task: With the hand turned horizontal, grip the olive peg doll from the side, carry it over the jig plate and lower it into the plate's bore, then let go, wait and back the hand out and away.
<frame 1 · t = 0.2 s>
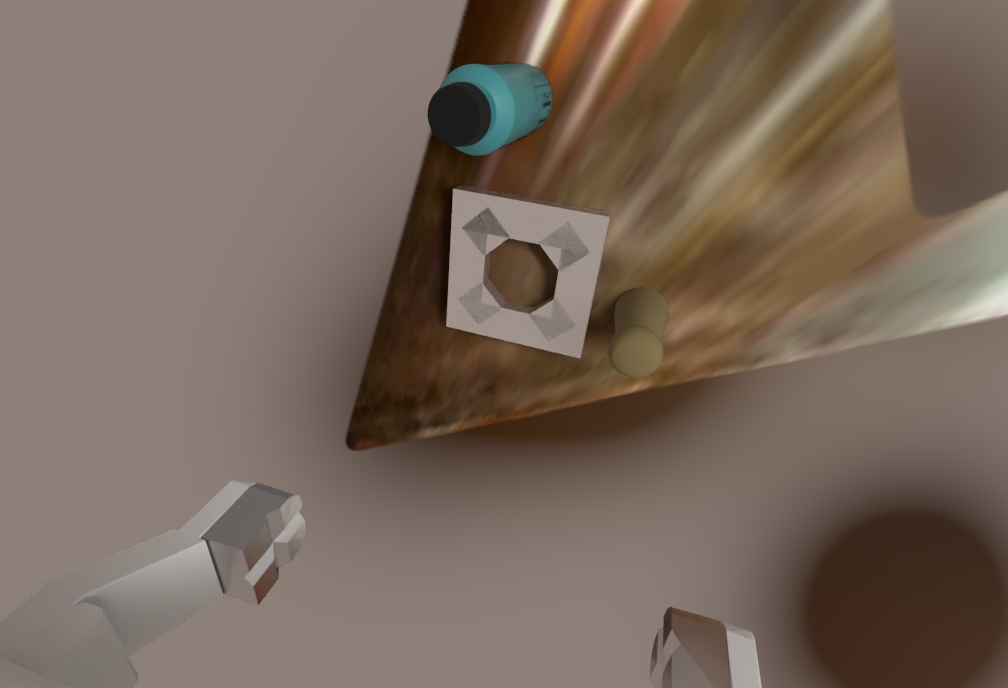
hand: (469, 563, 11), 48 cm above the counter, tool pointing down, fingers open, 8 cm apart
olive peg doll: (641, 311, 58), on the counter
beverage bottle: (526, 98, 51), on the counter
jig plate: (524, 271, 60), on the counter
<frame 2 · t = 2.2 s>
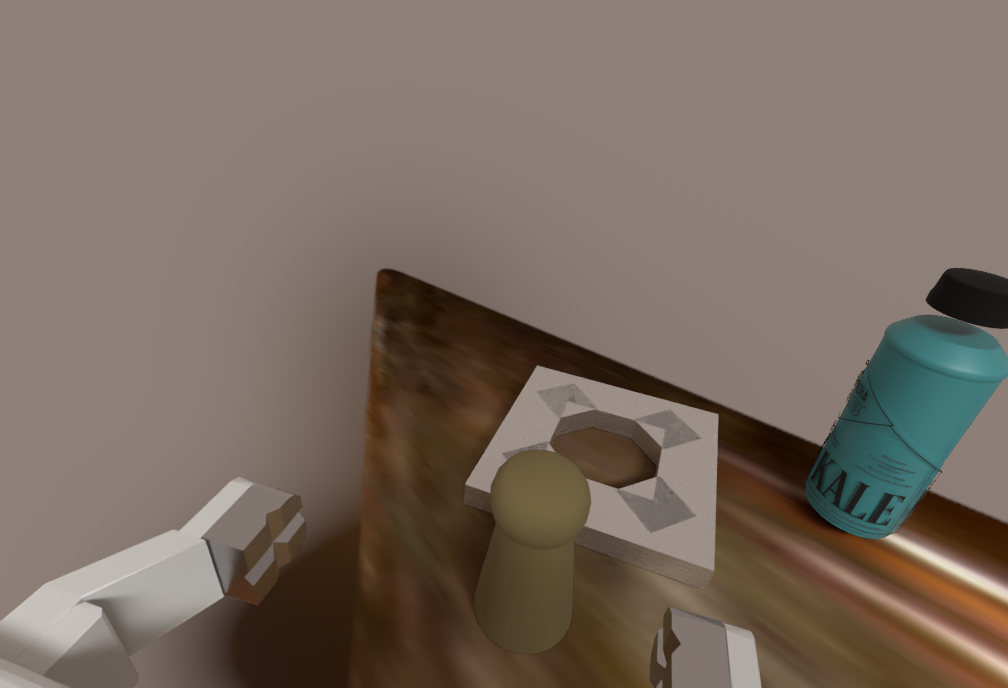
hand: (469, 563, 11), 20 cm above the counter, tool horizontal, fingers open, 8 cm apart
olive peg doll: (522, 605, 31), on the counter
beverage bottle: (838, 521, 39), on the counter
jig plate: (601, 463, 42), on the counter
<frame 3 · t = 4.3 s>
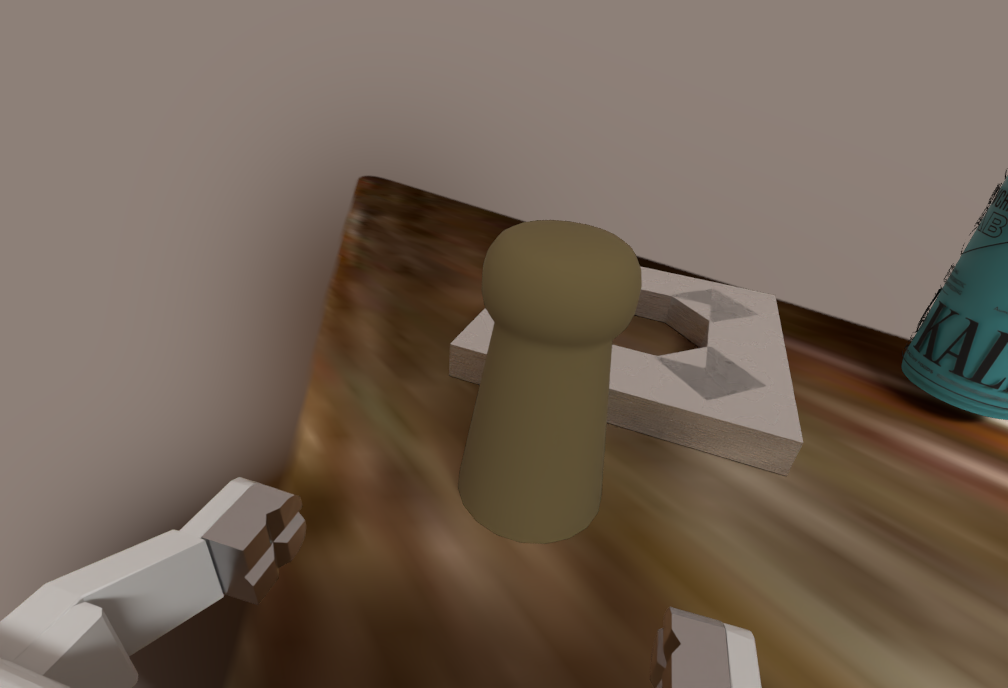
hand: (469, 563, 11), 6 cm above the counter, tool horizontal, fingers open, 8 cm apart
olive peg doll: (529, 486, 22), on the counter
beverage bottle: (947, 410, 29), on the counter
jig plate: (629, 343, 33), on the counter
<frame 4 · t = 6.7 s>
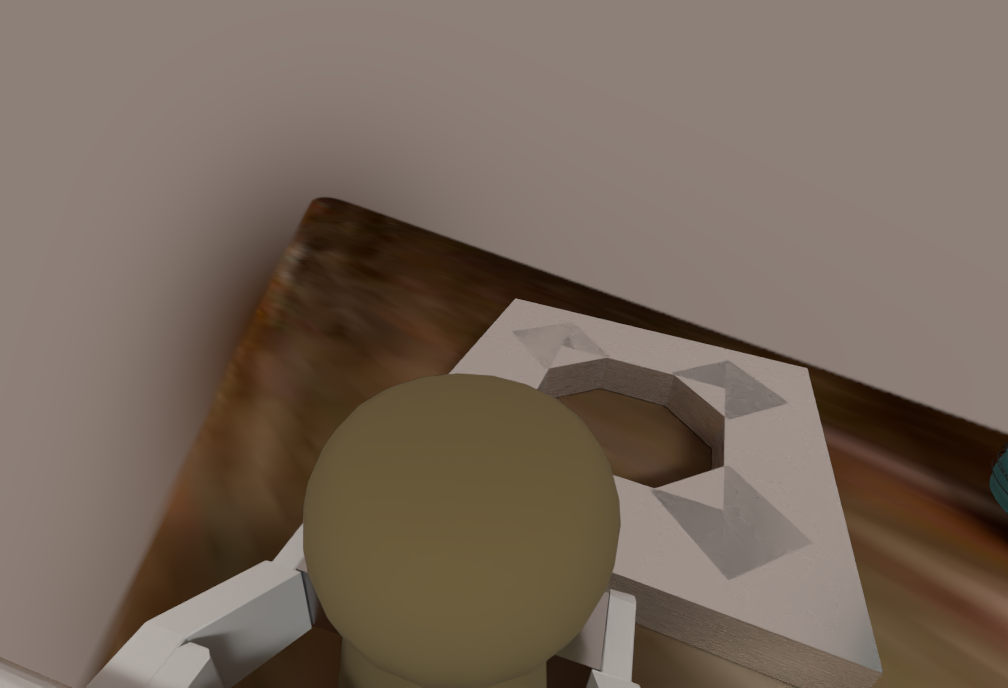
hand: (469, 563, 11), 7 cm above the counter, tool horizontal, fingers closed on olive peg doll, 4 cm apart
jig plate: (618, 445, 24), on the counter
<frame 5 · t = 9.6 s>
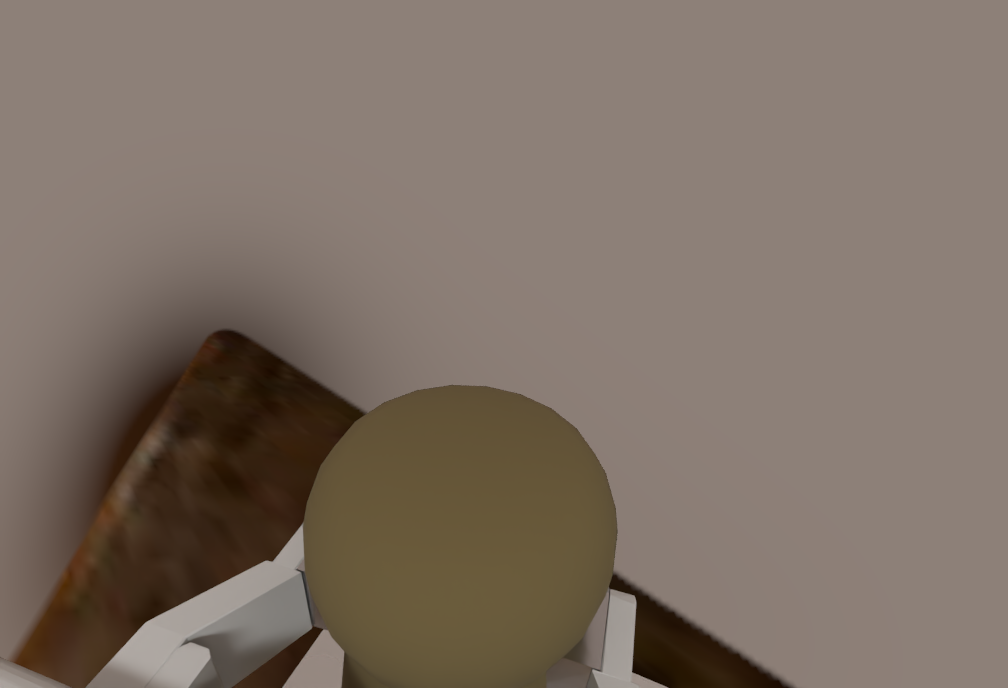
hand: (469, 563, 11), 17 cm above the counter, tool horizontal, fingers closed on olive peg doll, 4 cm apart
when the fingers open (7 cm above the counter, at t = 12.4 s): olive peg doll moves 1 cm, resting in jig plate.
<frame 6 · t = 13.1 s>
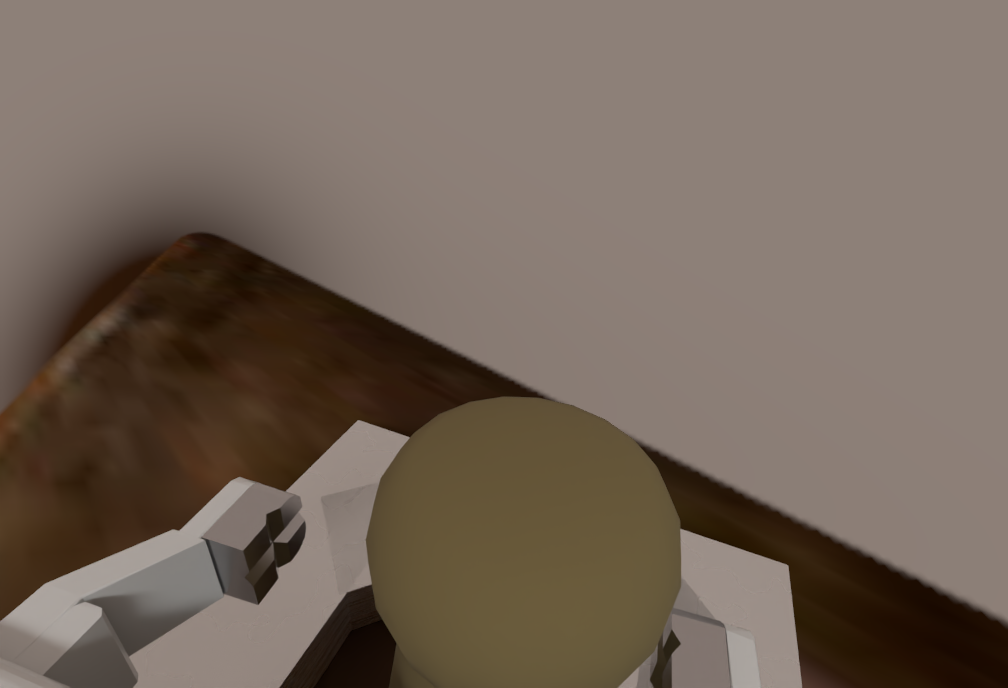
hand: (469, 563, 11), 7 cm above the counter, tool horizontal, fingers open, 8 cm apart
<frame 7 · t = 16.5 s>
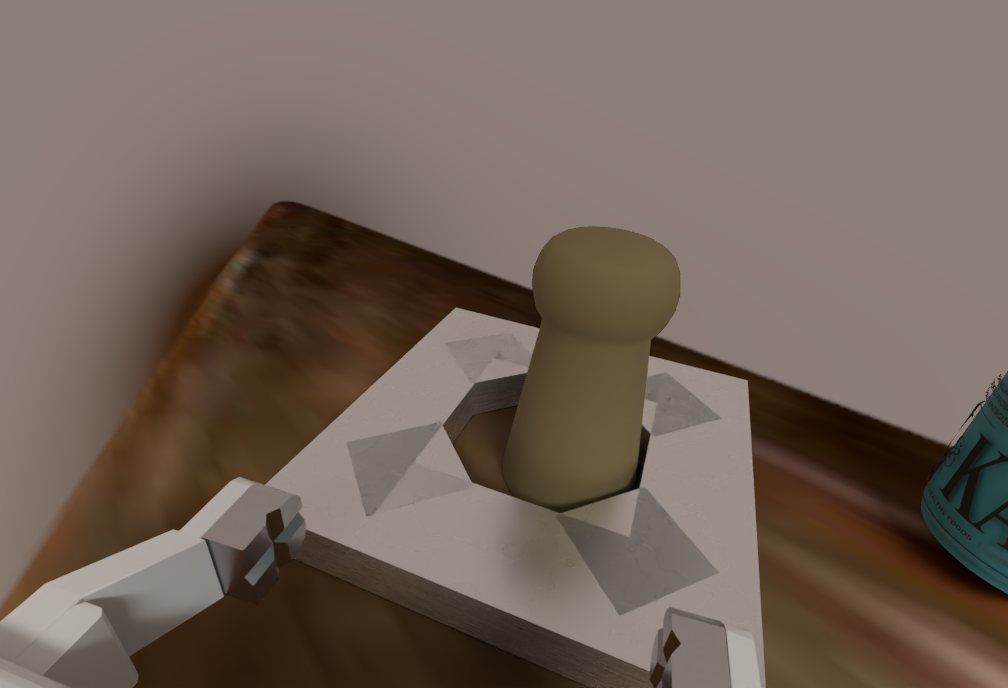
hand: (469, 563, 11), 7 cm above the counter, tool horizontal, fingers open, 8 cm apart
olive peg doll: (567, 473, 23), resting in jig plate
beverage bottle: (987, 573, 20), on the counter
jig plate: (542, 463, 24), on the counter
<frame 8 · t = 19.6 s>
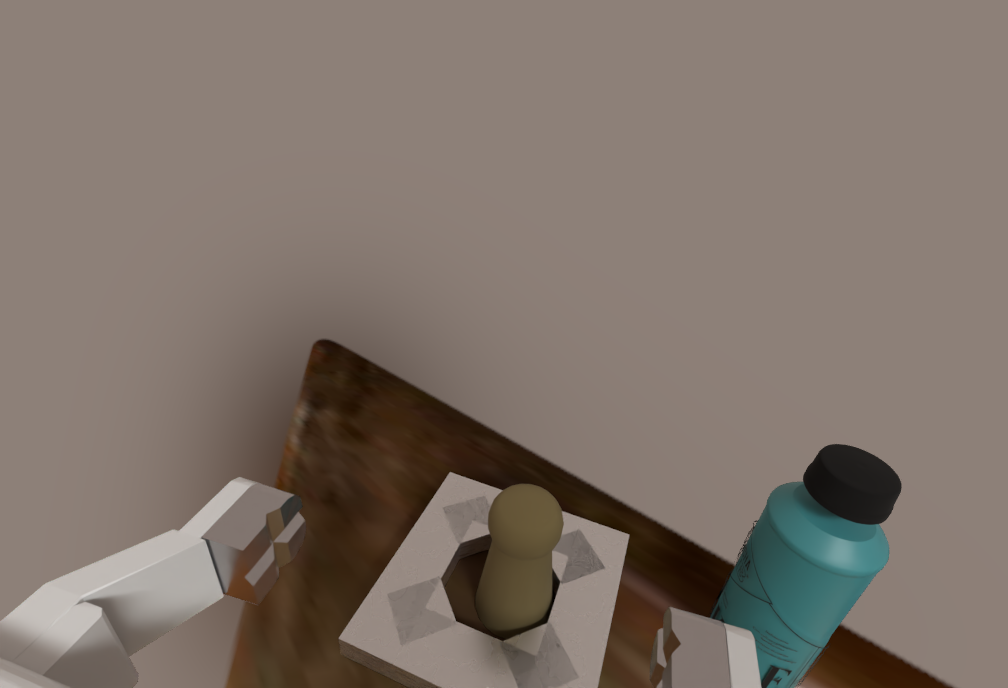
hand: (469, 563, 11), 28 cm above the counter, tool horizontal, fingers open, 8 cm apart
olive peg doll: (513, 603, 40), resting in jig plate
beverage bottle: (739, 668, 37), on the counter
jig plate: (499, 596, 40), on the counter
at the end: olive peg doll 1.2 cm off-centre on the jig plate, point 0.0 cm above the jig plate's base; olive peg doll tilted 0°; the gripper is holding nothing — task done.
